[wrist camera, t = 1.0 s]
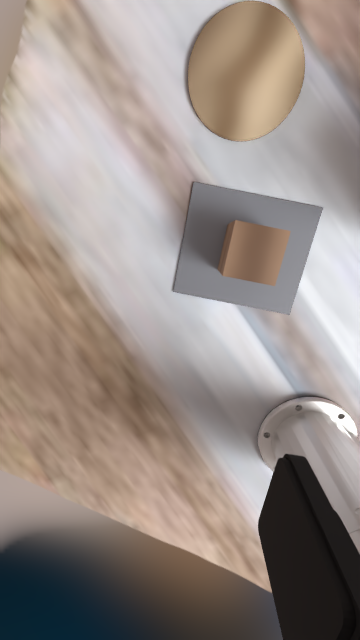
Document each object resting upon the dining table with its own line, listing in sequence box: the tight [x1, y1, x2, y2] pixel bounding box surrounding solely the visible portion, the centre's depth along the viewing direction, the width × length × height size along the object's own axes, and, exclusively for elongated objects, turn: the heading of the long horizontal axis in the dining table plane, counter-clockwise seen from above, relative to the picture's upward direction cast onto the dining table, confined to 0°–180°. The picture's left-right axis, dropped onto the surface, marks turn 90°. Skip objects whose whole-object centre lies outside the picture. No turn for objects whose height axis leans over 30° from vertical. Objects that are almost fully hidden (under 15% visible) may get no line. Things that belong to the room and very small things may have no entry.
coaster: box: [188, 1, 305, 141], centre depth 26 cm, size 11×11×1 cm
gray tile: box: [173, 182, 323, 315], centre depth 31 cm, size 14×12×1 cm
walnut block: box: [217, 220, 291, 286], centre depth 28 cm, size 5×5×6 cm
